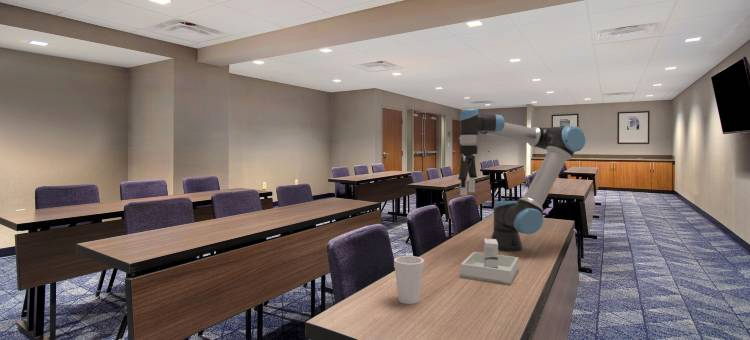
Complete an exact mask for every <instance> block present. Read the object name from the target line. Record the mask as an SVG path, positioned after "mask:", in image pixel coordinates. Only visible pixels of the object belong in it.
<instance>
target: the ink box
mask: <svg viewBox="0 0 750 340" xmlns="http://www.w3.org/2000/svg"><path fill="white" fill-rule="evenodd" d="M483 253H484V267H490V268H497V269H498V255H499V250H498V243H497V240H496V239H491V238H483Z"/></svg>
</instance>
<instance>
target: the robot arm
mask: <svg viewBox="0 0 750 340" xmlns="http://www.w3.org/2000/svg"><path fill="white" fill-rule="evenodd" d="M459 115H460V117H459V124H460V125H459V137H458V140H459V144H460V145H459V154H460V155H461V161H460V162H461V163H460V168H459V173H458V174H459V175H458V181H460V182H459V183H460V184H459V185H460V186H459V196H468V193H475V192H476V178H478V175H477V169H476V168H477V167H476V156H475V155H477V154H478V144H479V135H486V136H491V137H496V138H500V139H501V138H502V139H506V140H509V141H510V140H511V141H516V142H520V143H526V144H528V145H529V146H530V147H535V148H539V149H542V150H546V152H547V153H546V154H545V157H544V159H543V161H542V162H541V164H540V166H539V168H538V170H537V172H536V173H535V175H534V177H533V179H532V181H531V183H530V184H529V187H528V188H527V190H526V192H525V194H524V196H523V197H520V198H518V200H500V201H495V202H494V203H493V204H494V205H493V231H492V234H491V237H490V239H496V240H497V243H498V251H502V252H520V251H521V250H522V249H523V243H522V240H521V236H520V233H521V234H525V235H532V234H534V233H536V232H538V231H539V230H540V229H541V228H542V226H543V224H544V219H543V212H544V208H543V204H544V203H545V201H546V199H547V197H548V195H549V193H550V191H551V190H552V188H553V186H554V184H555V182H556V181H557V178H558V176H559V175H560V173H561V172H562V169H563V167H564V166H565V164H566V161H568V160H569V161H570V160H572V157H573V156H574V154H575V153H577V152H579V151H581V150H582V149H583V148H584V147H585V144H586V136H585V133H584V131H583V130H582V128H580V127H579V126H576V125H565V126H552V127H551V126H550V127H540V126H534V127H529V126H524V125H520V124H514V123H510V122H506V121H505V117H504V116H503V115H502V114H496V113H494V114H489V113H488V114H486V113H485V114H484V113H483V114H481V113H479V109H477V108H463V109H461V111H460V114H459ZM468 176H469V177H468ZM467 178H468V179H467Z"/></svg>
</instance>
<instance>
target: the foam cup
mask: <svg viewBox="0 0 750 340" xmlns="http://www.w3.org/2000/svg"><path fill="white" fill-rule="evenodd" d="M393 267H394V272H395V281H396V290H397V296H398V301H399V302H400V303H402V304H406V305H414V304H417V303H418V302H419V299H420V293H421V287H422V279H423V274H424V272H423V271H424V268H425V260H424V258H421V257H419V256H413V255H402V256H397V257H395V258H394V260H393Z"/></svg>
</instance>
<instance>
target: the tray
mask: <svg viewBox="0 0 750 340" xmlns="http://www.w3.org/2000/svg"><path fill="white" fill-rule="evenodd" d="M518 271H519V257H518V256H517V257H516V256H510V255H502V254H498V269H497V268H490V267H484V252H479V251H473V252H472V253H471V254H469V255H468V256H467V257H466V258H465V259H464V260H463V261H462V262H461V263H460V275H459V277H460V278H464V279H469V280H470V279H471V280H477V281H483V282H489V283H495V284H502V285H508V286H511V285H512V282H513V281H514V278H515V277H516V276H517V273H518Z"/></svg>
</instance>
